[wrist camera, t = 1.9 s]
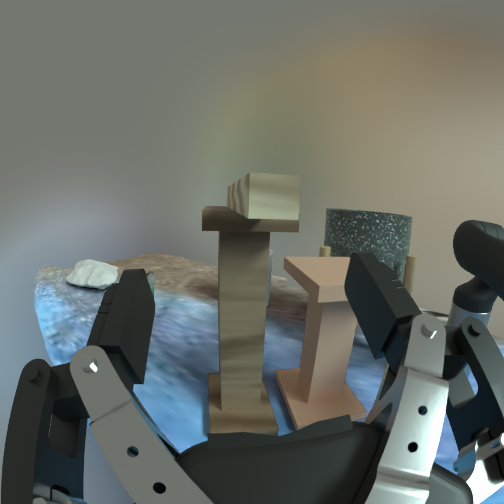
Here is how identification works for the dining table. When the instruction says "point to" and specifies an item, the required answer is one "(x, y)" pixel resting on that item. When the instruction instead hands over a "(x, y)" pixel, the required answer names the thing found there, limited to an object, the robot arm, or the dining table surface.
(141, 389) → the dining table surface
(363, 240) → the planter
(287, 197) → the beech bar
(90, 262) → the crumpled cloth
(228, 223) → the walnut base stand
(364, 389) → the dining table surface
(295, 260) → the terracotta base stand
